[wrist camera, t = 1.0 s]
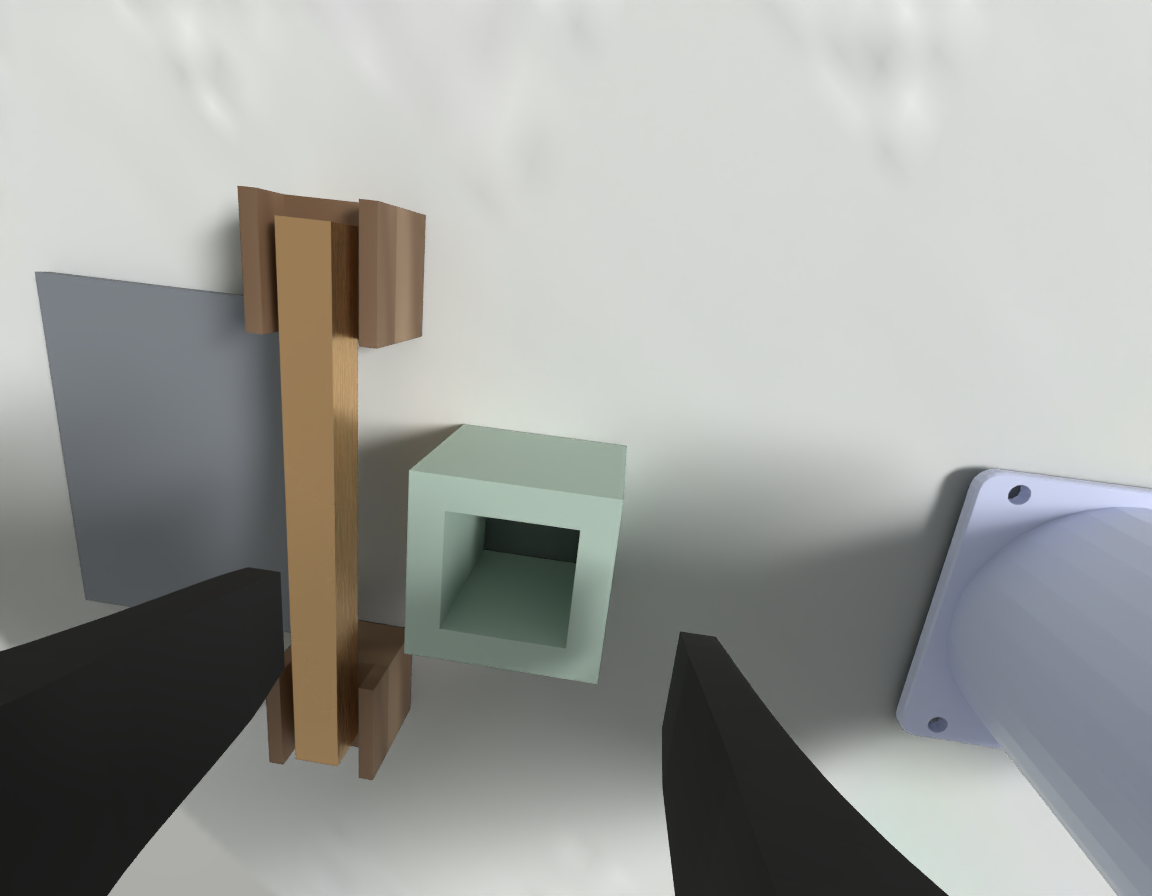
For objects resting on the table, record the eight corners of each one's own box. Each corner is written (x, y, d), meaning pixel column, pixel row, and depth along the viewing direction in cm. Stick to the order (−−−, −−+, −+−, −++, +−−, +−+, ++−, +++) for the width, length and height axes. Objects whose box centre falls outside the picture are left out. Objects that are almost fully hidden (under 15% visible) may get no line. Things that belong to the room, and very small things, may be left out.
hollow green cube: (626, 445, 16) (623, 500, 12) (605, 592, 17) (597, 684, 13) (463, 424, 16) (409, 470, 12) (455, 570, 17) (404, 653, 13)
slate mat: (294, 301, 15) (285, 302, 15) (304, 625, 18) (297, 633, 18) (49, 271, 16) (34, 271, 16) (96, 593, 19) (85, 599, 18)
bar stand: (425, 215, 14) (377, 200, 12) (410, 708, 19) (372, 780, 16) (309, 202, 15) (237, 185, 12) (321, 693, 19) (269, 762, 16)
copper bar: (358, 226, 13) (330, 221, 12) (357, 733, 17) (337, 766, 16) (306, 220, 13) (274, 215, 12) (318, 726, 17) (295, 758, 16)
